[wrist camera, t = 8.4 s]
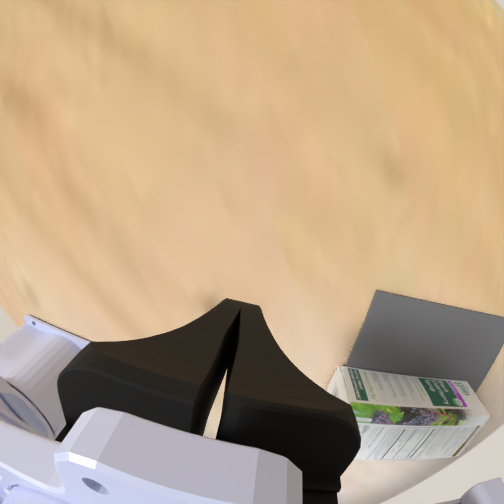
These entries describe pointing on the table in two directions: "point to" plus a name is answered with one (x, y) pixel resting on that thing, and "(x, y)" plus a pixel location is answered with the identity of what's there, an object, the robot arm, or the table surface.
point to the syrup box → (409, 414)
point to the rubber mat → (427, 340)
